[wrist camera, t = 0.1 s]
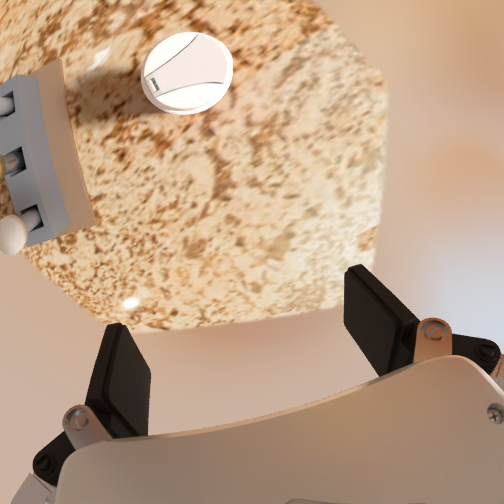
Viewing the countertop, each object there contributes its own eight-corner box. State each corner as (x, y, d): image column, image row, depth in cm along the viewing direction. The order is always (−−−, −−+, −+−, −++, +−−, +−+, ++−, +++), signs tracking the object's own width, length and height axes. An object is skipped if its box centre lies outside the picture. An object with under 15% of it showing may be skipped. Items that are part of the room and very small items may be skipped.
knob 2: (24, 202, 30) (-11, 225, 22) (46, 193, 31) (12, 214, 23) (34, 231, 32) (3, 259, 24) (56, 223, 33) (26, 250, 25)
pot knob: (11, 150, 27) (-32, 163, 18) (32, 140, 27) (-12, 149, 18) (18, 177, 29) (-24, 196, 20) (38, 167, 29) (-3, 184, 20)
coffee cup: (174, 129, 35) (162, 131, 22) (148, 79, 32) (123, 54, 18) (230, 102, 35) (251, 88, 22) (205, 52, 31) (212, 13, 18)
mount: (-3, 96, 25) (-28, 95, 19) (61, 59, 27) (40, 51, 21) (34, 243, 37) (14, 262, 31) (97, 222, 38) (81, 240, 32)
